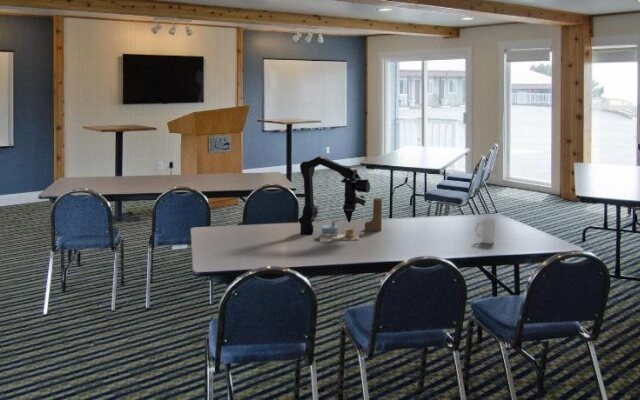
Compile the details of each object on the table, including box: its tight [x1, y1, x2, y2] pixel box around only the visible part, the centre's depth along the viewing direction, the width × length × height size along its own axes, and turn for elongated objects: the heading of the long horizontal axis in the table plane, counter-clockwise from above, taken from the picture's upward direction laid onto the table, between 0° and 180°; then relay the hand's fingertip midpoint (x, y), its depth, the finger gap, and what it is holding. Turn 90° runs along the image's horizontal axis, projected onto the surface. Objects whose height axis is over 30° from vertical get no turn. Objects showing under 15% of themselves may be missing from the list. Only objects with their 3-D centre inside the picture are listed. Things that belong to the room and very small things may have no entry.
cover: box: [320, 220, 339, 237], centre depth 385 cm, size 8×8×8 cm
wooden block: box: [364, 197, 383, 232], centre depth 405 cm, size 9×4×18 cm, turn 82°
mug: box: [474, 218, 496, 245], centre depth 374 cm, size 10×7×12 cm, turn 86°
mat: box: [319, 238, 333, 243], centre depth 377 cm, size 6×5×1 cm
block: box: [345, 227, 355, 238], centre depth 384 cm, size 4×4×5 cm
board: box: [318, 233, 360, 241], centre depth 385 cm, size 21×10×1 cm, turn 85°
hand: (349, 220), depth 383 cm, fingers open, 9 cm apart
